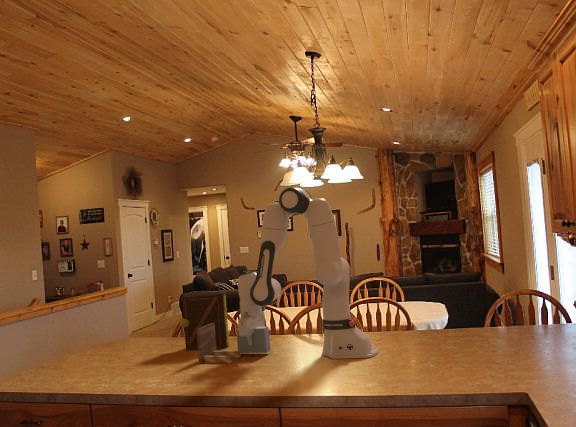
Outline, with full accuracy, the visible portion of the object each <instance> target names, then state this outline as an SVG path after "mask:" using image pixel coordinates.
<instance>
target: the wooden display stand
mask: <svg viewBox="0 0 576 427" xmlns="http://www.w3.org/2000/svg"><path fill="white" fill-rule="evenodd" d="M196 331H197V345H198V350H197V355H198V364H204V363H209V364H210V363H213V364H215V363H216V364H217V363H219V364H220V363H221V364H223V363H224V364H230V363H232V362H233V360H232V359H233V358H241V353H240V351H238V350H217V349H216V337H215V323H210V324H208V325H205V326H203V327H200V328H198V329H196Z"/></svg>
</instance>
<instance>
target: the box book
mask: <svg viewBox="0 0 576 427" xmlns="http://www.w3.org/2000/svg"><path fill="white" fill-rule="evenodd" d="M269 330H270V328H269V326H265V327H257V328H255V329H254V333H253V334H252V340H253V344H252V345H248V340H247V338H246V337H240V335H239V327H238V328H237V329H236V330H235V332H236V341H237V351H240V354H262V353H263V354H267V353H269V352H270V351H271V341H270V331H269Z"/></svg>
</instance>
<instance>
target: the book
mask: <svg viewBox="0 0 576 427" xmlns="http://www.w3.org/2000/svg"><path fill="white" fill-rule="evenodd" d="M181 299H182V312H183V317H182V318H180V319H179V326H180V327H181V328H184V340H185V351H186V350H188V351H198V345H197V331H196V329H198V328H200V327H203V326H205V325H208V324H210V323H215V337H216V350H219V349H220V350H221V349H223V350H224V349H227V348H229V347H230V337H229V326H228V312H227V311H228V310H227V309H228V308H227V296H226V291H215V292H200V293H185V294H184V295H182V297H181Z"/></svg>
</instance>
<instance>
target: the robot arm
mask: <svg viewBox="0 0 576 427" xmlns="http://www.w3.org/2000/svg"><path fill="white" fill-rule="evenodd" d="M299 215H303V216H304V217H305V219H306V222H307V225H308V226H307V227H308V230H309V234H310V237H311V242H312V248H313V258H314V259H313V260H314V266H315V268H314V269H315V270H314V275H315V276H314V277H315V279H316V281H317V282H318V283H319V284H320V285H323V289H322V290H323V292H322V298H321V306H322V307H321V308H322V317H323V318H322V320H321V321H322V323H321V325H322V332H323V346H322V352H321V354H322V356H324V357H327V358H330V359H331V358H332V360H335V359H336V360H339V359H359V358H360V359H364V358H365V359H366V358H372V357H375V356H376V355H377V354H378V353H379V350H378V347H376V346H373V344H372V341H371V338H370V335H368V334H367V333H366V332H365V331H362V330H361V329H360V328H359V327H357V324H356V323H357V321H356V318H353V317H351V308H350V282H351V281H350V276H351V275H350V270H351V267H350V264H349V261H347V260H346V259H345V258H344V257H341V248H340V237H339V233H338V228H337V224H336V220H335V218H334V214H333V211H332V208H331V206H330V203H329V202H328V200H326V199H325V198H322V197H321V198H320V197H318V198H313V197H312V195H311V194H310V193H309V192H308V191H307V190H305V189H303V188H301V187H298V186H289V187H286V188H285V189H284V190H282V191H281V193H280V195H279V197H278V202H277V201H276V202H270V203H268V204H267V205H266V206H265V209H264V213H263V216H262V222H261V232H260V244H259V245H260V246H259V255H258V261H257V268H256V271H250V272H245V273H242V274H240V275H239V277H238V279H237V280H238V281H237V285H238V290H237V291H238V297H239V310H240V311H239V312H240V318H239V319H238V328H239V335H240V337H246V338H247V340H248V345H252V344H253V340H252V334H253V333H254V329H255V328H257V327H266V315H265V314H266V313H265V311H266V306H268V305H270V304H271V303H273V302H274V301H275V300H276V299H278V298H279V297H280V295H281V293H282V285H281V283H280V282H279V281H278V280H277V279H275V278H273V271H274V264H275V261H276V257H277V255H278V254H279V252H280V251H281V250H282V249H283V247H284V246H285V244H286V242H287V238H288V228H289V221H290V218H291V217H294V216H299Z"/></svg>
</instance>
